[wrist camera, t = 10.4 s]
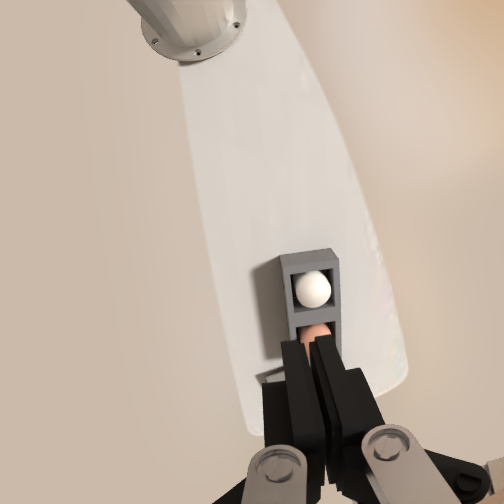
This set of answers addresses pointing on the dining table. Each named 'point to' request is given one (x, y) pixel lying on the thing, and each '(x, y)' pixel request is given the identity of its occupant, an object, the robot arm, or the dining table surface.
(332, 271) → the button console
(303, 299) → the white button
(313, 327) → the pink button
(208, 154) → the dining table surface
